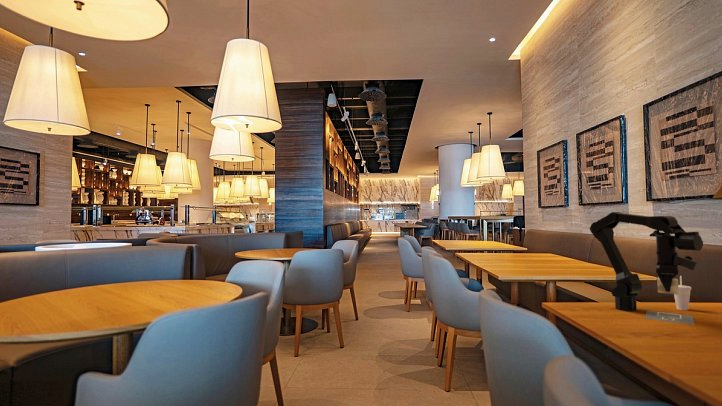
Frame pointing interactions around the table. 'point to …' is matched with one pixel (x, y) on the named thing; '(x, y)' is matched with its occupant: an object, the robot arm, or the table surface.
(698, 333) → the table surface
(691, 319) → the board
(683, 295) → the smoothie
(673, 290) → the maple block
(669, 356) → the table surface
